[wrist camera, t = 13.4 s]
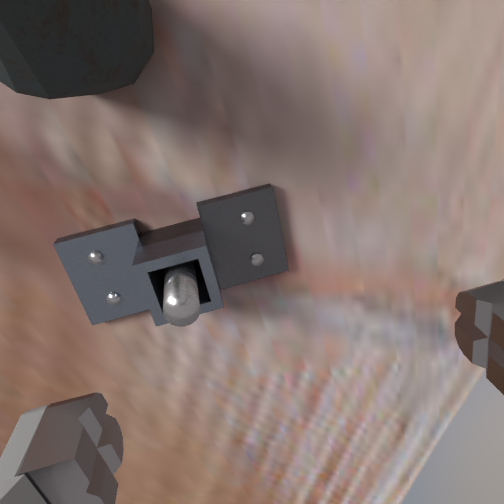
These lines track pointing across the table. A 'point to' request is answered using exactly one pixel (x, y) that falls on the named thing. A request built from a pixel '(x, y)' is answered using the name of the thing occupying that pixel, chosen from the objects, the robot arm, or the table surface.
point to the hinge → (175, 256)
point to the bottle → (73, 45)
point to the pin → (181, 294)
